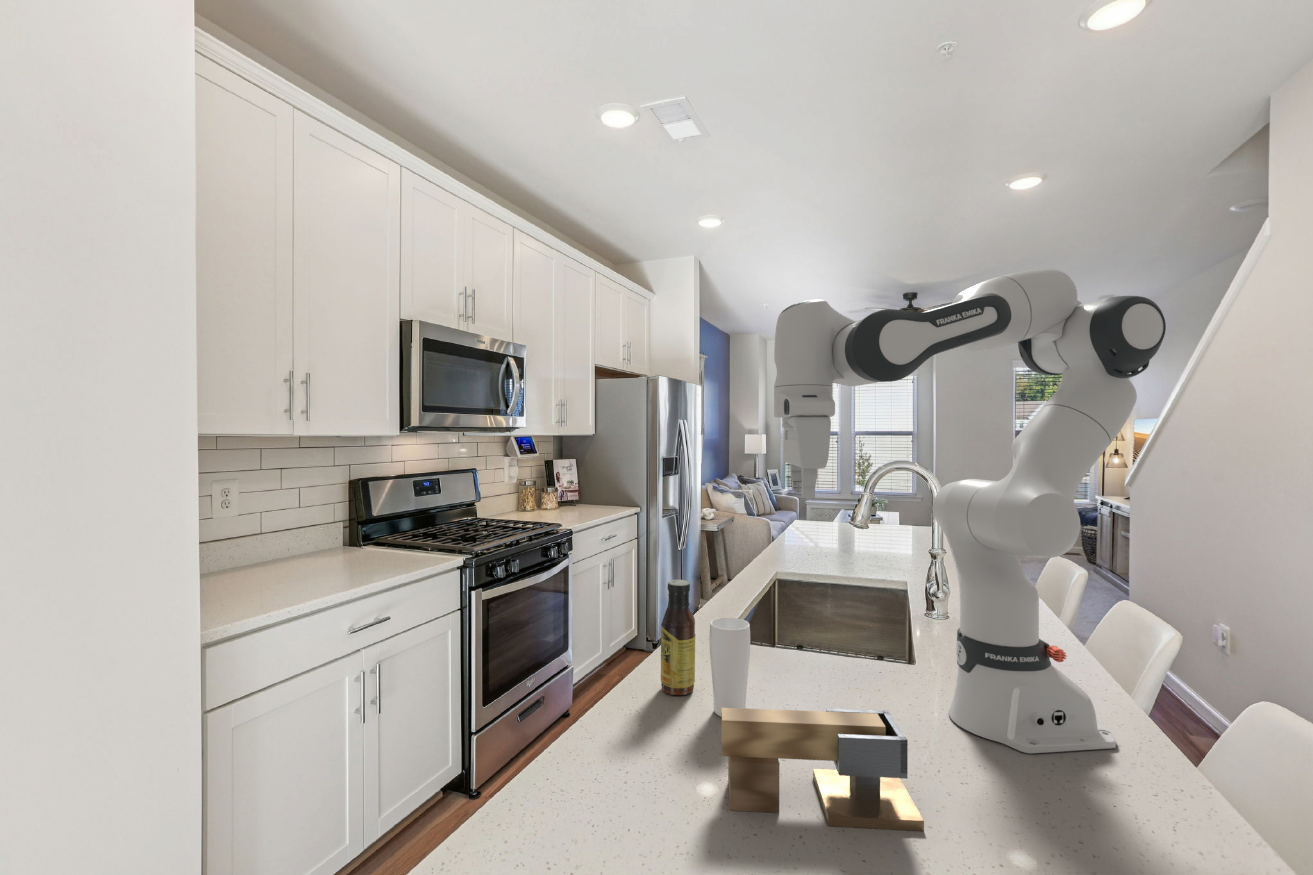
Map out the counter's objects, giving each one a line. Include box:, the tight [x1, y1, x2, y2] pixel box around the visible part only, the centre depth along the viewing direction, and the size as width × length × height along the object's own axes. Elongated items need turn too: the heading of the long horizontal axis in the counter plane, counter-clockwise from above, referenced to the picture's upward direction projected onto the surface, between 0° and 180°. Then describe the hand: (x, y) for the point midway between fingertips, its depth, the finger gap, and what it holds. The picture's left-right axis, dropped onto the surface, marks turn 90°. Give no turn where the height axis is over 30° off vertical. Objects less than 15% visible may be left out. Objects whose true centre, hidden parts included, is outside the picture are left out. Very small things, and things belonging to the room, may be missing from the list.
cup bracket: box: [812, 708, 925, 832], centre depth 75 cm, size 11×10×10 cm
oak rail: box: [721, 708, 886, 762], centre depth 76 cm, size 20×4×4 cm, turn 85°
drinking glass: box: [708, 617, 751, 718], centre depth 99 cm, size 7×7×15 cm
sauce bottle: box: [660, 579, 696, 696], centre depth 108 cm, size 7×6×20 cm
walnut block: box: [727, 756, 780, 814], centre depth 76 cm, size 6×6×6 cm
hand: (802, 495), depth 92 cm, fingers open, 8 cm apart
